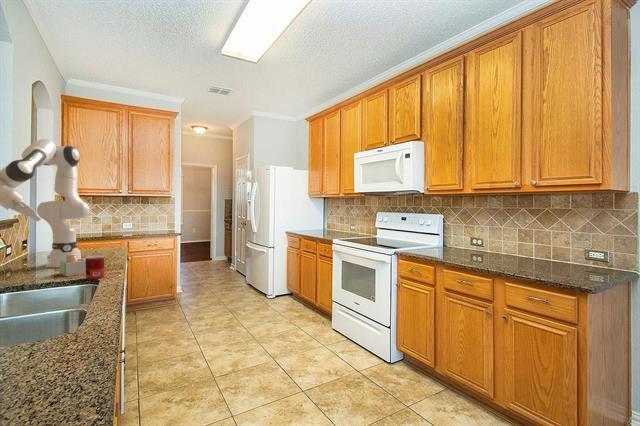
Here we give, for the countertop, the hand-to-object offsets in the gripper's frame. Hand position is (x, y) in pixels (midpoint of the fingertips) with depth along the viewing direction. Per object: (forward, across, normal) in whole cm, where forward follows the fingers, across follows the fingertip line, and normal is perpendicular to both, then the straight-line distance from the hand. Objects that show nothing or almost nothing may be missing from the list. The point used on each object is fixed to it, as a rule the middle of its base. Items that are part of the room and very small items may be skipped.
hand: (39, 220), depth 167 cm
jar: (+29, -1, +10) cm, 31 cm away
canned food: (+34, -20, +8) cm, 41 cm away
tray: (+31, -1, +11) cm, 33 cm away
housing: (+31, -1, +11) cm, 33 cm away
